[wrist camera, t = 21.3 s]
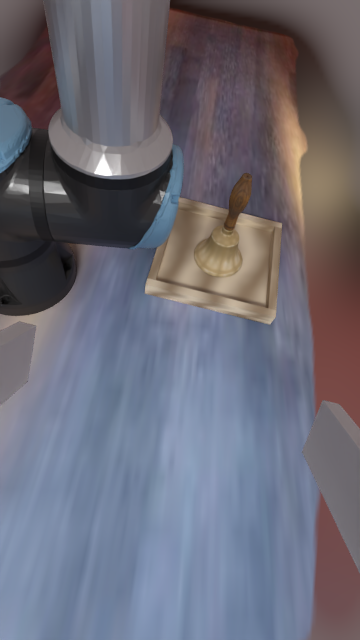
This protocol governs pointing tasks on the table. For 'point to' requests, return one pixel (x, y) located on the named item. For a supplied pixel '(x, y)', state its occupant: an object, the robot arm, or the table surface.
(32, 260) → the robot arm
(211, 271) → the hand bell
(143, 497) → the table surface
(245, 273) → the tray
